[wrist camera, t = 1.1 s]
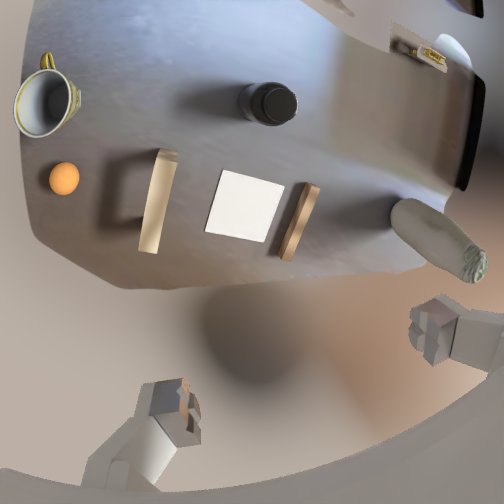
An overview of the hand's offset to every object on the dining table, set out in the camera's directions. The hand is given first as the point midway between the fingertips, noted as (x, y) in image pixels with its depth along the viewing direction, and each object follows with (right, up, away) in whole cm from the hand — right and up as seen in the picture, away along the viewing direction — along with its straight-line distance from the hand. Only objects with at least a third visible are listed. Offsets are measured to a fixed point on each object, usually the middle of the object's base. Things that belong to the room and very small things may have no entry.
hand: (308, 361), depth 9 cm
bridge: (-18, +14, +38) cm, 44 cm away
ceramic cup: (-33, +30, +25) cm, 51 cm away
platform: (+35, +47, +35) cm, 69 cm away
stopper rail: (+7, +10, +48) cm, 50 cm away
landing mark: (-3, +12, +44) cm, 46 cm away
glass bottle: (+34, +13, +54) cm, 65 cm away
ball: (-33, +16, +30) cm, 47 cm away
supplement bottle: (-1, +29, +35) cm, 45 cm away
